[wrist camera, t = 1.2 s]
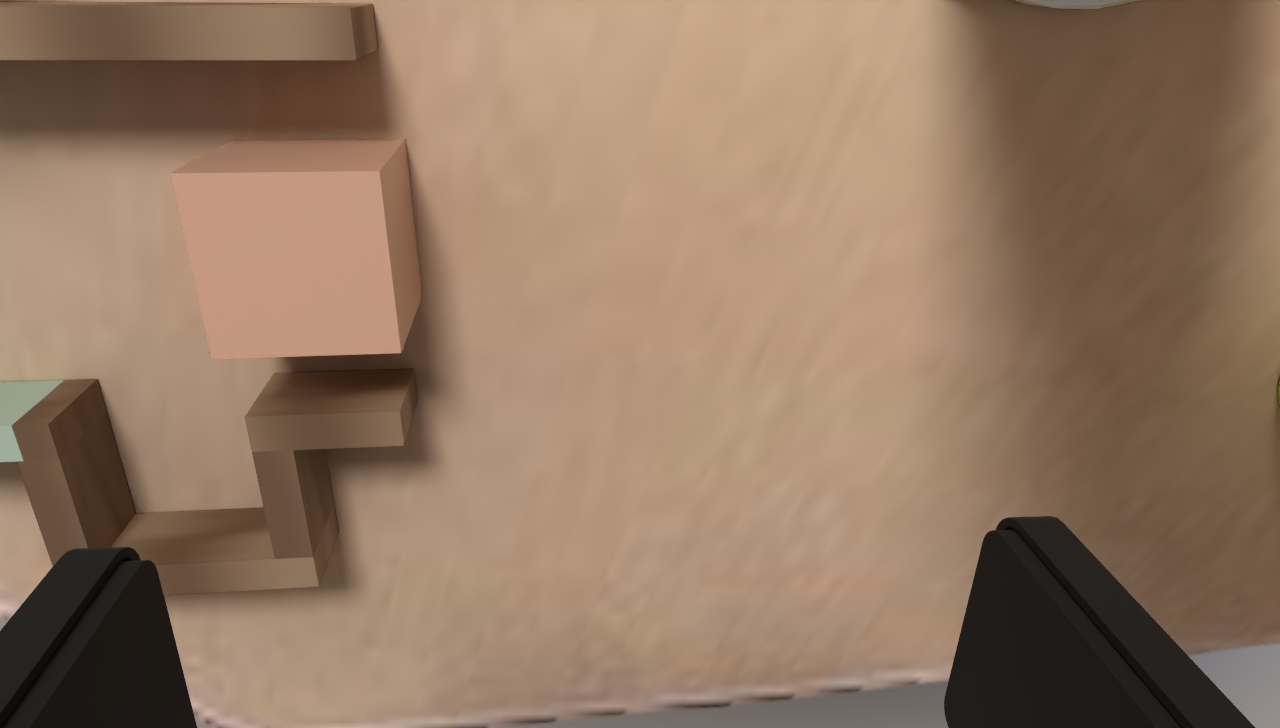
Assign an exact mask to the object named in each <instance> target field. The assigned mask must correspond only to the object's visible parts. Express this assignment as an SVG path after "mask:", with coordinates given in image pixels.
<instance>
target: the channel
mask: <svg viewBox="0 0 1280 728" xmlns="http://www.w3.org/2000/svg"><path fill="white" fill-rule="evenodd" d="M376 50H378V47H377V38H376V29H375V20H374V12H373V4H333V3H178V2H23V1H0V60H358V59H360V58H362V57H364V56H366V55H368V54H370V53H372V52H374V51H376ZM417 401H418V400H417V391H416V383H415V374H414V369H392V370H361V371H330V372H300V373H274V374H273V376H272V377H271V379H270V380H269V382H268V383H267V385H266V386H265V388H264V389H263V391H262V392H261V393H260V395H259V396H258V398H257V399H256V401H255V402H254V404H253V405H252V407H251V408H250V410H249V411H248V413H247V414H246V416H245V421H246V425H247V430H248V435H249V440H250V444H251V449H252V454H253V458H254V463H255V468H256V473H257V477H258V482H259V487H260V492H261V496H262V501H263V506H264V508H244V509H222V510H201V511H179V512H158V513H136V512H135V508H134V505H133V501H132V498H131V494H130V491H129V488H128V484H127V481H126V477H125V474H124V470H123V467H122V463H121V460H120V456H119V453H118V449H117V446H116V442H115V439H114V436H113V432H112V429H111V425H110V422H109V418H108V415H107V411H106V408H105V404H104V401H103V397H102V394H101V390H100V387H99V384H98V380H97V379H85V380H64V381H63V382H62V383H60V384H59V385H58V386H57V387H56V388H55V389H53V390H52V391H51V392H50V393H49V394H48V395H46V396H45V397H44V398H43V399H42V400H41V401H39V402H38V403H37V404H36V405H35V406H34V407H32V408H31V409H30V410H29V411H28V412H27V413H25V414H24V415H23V416H22V417H21V418H20V419H18V420H17V421H16V422H15V423H14V424H13V425H11V426H12V429H13V432H14V435H15V438H16V441H17V444H18V446H19V449H20V452H21V455H22V458H23V461H17V465H18V468H19V470H20V473H21V476H22V479H23V482H24V485H25V488H26V490H27V493H28V496H29V499H30V502H31V505H32V508H33V511H34V513H35V516H36V519H37V522H38V525H39V528H40V531H41V533H42V536H43V539H44V542H45V545H46V548H47V551H48V554H49V556H50V559H51V562H52V565H53V566H54V565H55V564H56V563H57V561H58V560H59V559H60V558H61V557H62V556H63V555H64V554H65V553H66V552H67V551H69V550H73V549H82V548H112V547H130V548H133V549H134V550H135V551H136V552H137V553H138V554H139V557H140V559H141V560H149V561H152V562H153V563H154V564H155V566H156V568H157V571H158V575H159V579H160V583H161V586H162V590H163V594H164V595H177V594H195V593H213V592H231V591H249V590H268V589H286V588H304V587H319V585H320V582H321V579H322V577H323V574H324V571H325V568H326V566H327V563H328V560H329V558H330V555H331V552H332V549H333V547H334V544H335V541H336V539H337V536H338V533H339V530H338V524H337V518H336V512H335V506H334V500H333V495H332V489H331V483H330V477H329V471H328V465H327V459H326V453H325V449H336V448H361V447H386V446H404V445H405V441H406V438H407V435H408V431H409V428H410V424H411V421H412V418H413V414H414V411H415V408H416V404H417Z"/></svg>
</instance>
